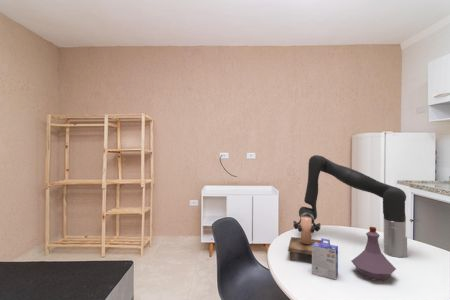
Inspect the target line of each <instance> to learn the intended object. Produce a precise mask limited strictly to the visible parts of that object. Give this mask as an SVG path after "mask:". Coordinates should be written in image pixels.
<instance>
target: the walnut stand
mask: <svg viewBox="0 0 450 300" xmlns="http://www.w3.org/2000/svg"><path fill="white" fill-rule="evenodd" d="M315 242H316V243H321V239H320V240H319V239H313V238H311V244H304V243H302V242H301V237H295V236H294V237H293V236H291V237H290V240H289V245H288V248H287V251H288V252H289V253H288V254H289V256H288V257H289V261H292V262H294V261H295V253H299V254H306V255H312V245H313V244H314V243H315ZM322 242H324V241H322Z"/></svg>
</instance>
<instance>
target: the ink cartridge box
mask: <svg viewBox="0 0 450 300" xmlns="http://www.w3.org/2000/svg"><path fill="white" fill-rule="evenodd" d="M320 240H321V243H316V242H315V243H314V244H313V245H312V254H311V274H313V275H316V276H320V277H324V278H329V279H332V280H337V277H338V276H339V246H338V245H333V244H330V243H331V240H330V239H328V238H327V239H326V238H323V237H322V238H321V239H320ZM322 241H323V242H322ZM324 241H325V242H324Z"/></svg>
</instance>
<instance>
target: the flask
mask: <svg viewBox="0 0 450 300" xmlns="http://www.w3.org/2000/svg"><path fill="white" fill-rule="evenodd" d="M368 230H369V231H367V232H366V233H365V235H366V236H367V241H366V245H365V247H364V250H362V251H361V253H359V254H358V255H357V256H355V257H354V258H353V259H352V260H351V261H350V262H351V263H352V264H353V265H354V266H355V268H356V269H357V270H358V272H359V273H360V274H361V275H362V276H363V277H364V278H366V279H370V280H372V281H384V280H386V279H387V278H388V277H389V276H391V275H392V274H393V273H394V272H396V270H397V268H396V267H395V266H394V265H393V264H392V263H391V262H390V260H388V259H387V258H386V257H385V255H384V254H383V253H382V250H381V247H380V244H379V238H380V234H379V233H378V232H377V227H374V226H369V229H368Z"/></svg>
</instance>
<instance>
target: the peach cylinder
mask: <svg viewBox="0 0 450 300" xmlns="http://www.w3.org/2000/svg"><path fill="white" fill-rule="evenodd" d="M311 227H312V218H310V217H301V232H300V238H301V242H302V243H304V244H311V239H312V233H311Z"/></svg>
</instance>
